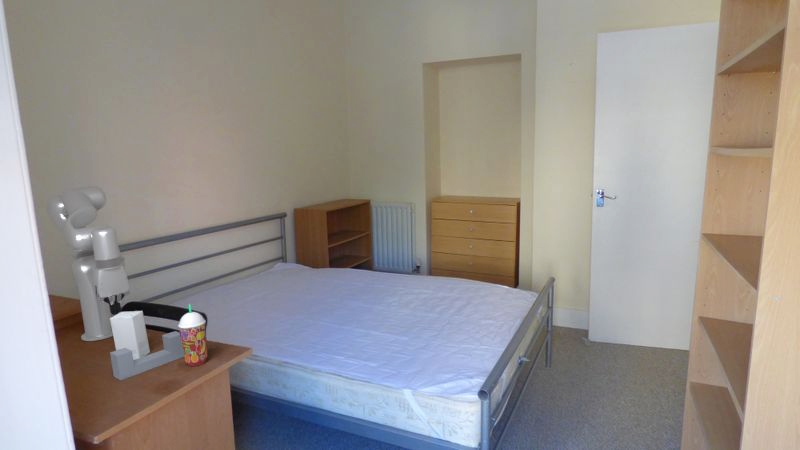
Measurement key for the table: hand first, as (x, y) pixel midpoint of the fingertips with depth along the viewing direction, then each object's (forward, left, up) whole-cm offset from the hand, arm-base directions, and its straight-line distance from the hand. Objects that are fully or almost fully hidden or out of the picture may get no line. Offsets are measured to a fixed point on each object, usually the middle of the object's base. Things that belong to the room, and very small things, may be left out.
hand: (116, 314), depth 177 cm
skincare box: (+9, 0, -14) cm, 17 cm away
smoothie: (+33, +10, -14) cm, 38 cm away
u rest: (+22, 0, -14) cm, 26 cm away
